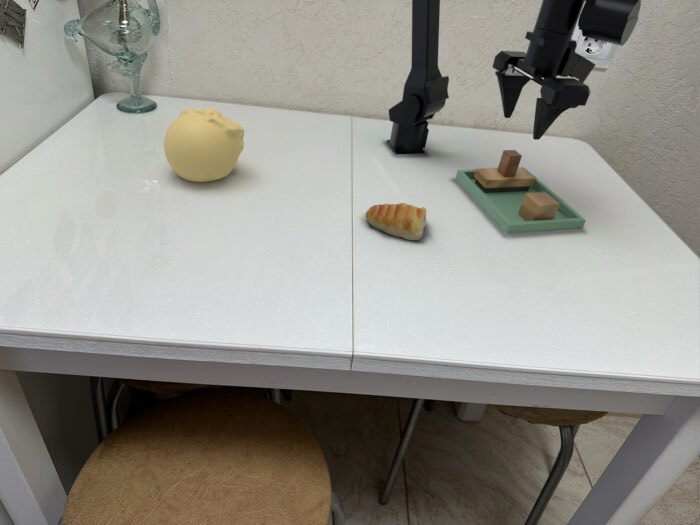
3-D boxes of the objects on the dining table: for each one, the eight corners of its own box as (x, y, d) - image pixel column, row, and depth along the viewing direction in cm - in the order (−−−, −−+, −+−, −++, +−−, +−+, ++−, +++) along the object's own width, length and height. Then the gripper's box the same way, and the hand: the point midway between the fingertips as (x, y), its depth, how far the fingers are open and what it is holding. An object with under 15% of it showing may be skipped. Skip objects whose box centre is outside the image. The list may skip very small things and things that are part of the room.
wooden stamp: (483, 194, 87) (494, 159, 83) (471, 182, 91) (481, 147, 87) (531, 191, 90) (543, 157, 86) (518, 180, 93) (530, 147, 89)
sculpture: (254, 171, 86) (253, 110, 79) (206, 197, 77) (201, 132, 71) (204, 151, 90) (199, 92, 83) (153, 174, 81) (143, 110, 75)
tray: (505, 236, 78) (509, 225, 77) (454, 180, 92) (457, 170, 91) (581, 230, 82) (586, 219, 81) (521, 177, 96) (525, 168, 95)
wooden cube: (530, 226, 80) (539, 205, 78) (517, 213, 83) (525, 192, 81) (551, 225, 81) (560, 204, 79) (537, 212, 84) (546, 191, 82)
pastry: (361, 231, 74) (364, 209, 72) (368, 209, 80) (372, 189, 78) (422, 244, 73) (427, 222, 71) (425, 221, 79) (430, 200, 77)
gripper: (640, 48, 69) (595, 151, 79) (561, 18, 83) (531, 108, 93) (575, 45, 66) (536, 152, 76) (504, 14, 80) (479, 107, 90)
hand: (521, 128), depth 83 cm, fingers open, 9 cm apart
